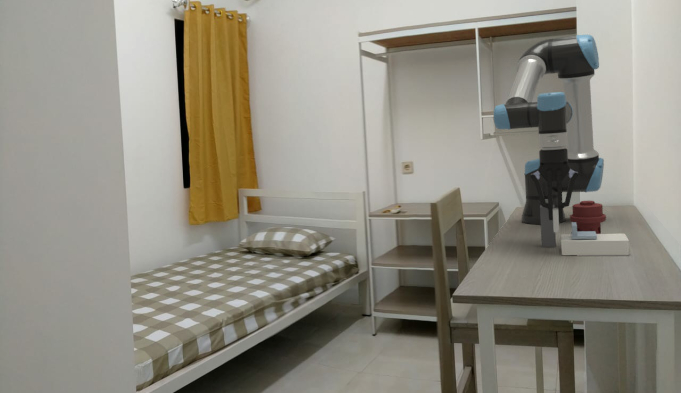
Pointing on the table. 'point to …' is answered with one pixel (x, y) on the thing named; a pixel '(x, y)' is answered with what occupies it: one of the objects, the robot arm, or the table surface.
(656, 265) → the table surface
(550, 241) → the plug
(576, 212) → the mechanical component
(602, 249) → the socket
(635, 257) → the table surface
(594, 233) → the panel
